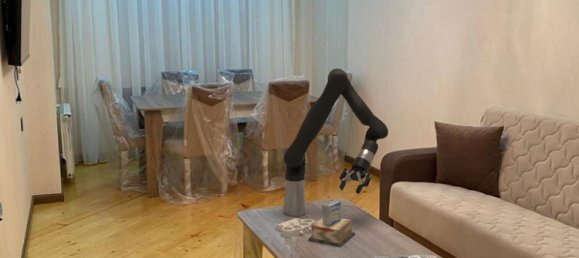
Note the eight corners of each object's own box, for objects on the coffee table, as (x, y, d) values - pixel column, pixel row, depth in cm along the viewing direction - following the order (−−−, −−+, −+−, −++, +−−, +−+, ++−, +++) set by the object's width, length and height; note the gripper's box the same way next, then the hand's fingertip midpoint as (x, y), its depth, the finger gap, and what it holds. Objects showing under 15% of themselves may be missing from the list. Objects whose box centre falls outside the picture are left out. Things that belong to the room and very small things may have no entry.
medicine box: (330, 226, 247) (330, 206, 246) (322, 223, 250) (321, 204, 248) (341, 220, 253) (341, 201, 252) (332, 218, 256) (332, 199, 254)
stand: (308, 240, 250) (308, 225, 249) (323, 229, 263) (323, 214, 262) (340, 247, 243) (340, 231, 242) (354, 234, 256) (354, 219, 254)
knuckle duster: (298, 221, 274) (321, 229, 264) (270, 232, 262) (293, 240, 251) (298, 214, 273) (321, 222, 263) (270, 225, 261) (293, 233, 251)
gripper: (347, 154, 269) (332, 183, 263) (373, 159, 260) (359, 190, 254) (353, 162, 274) (339, 192, 268) (379, 168, 265) (365, 198, 259)
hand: (348, 191), depth 261 cm, fingers open, 8 cm apart
